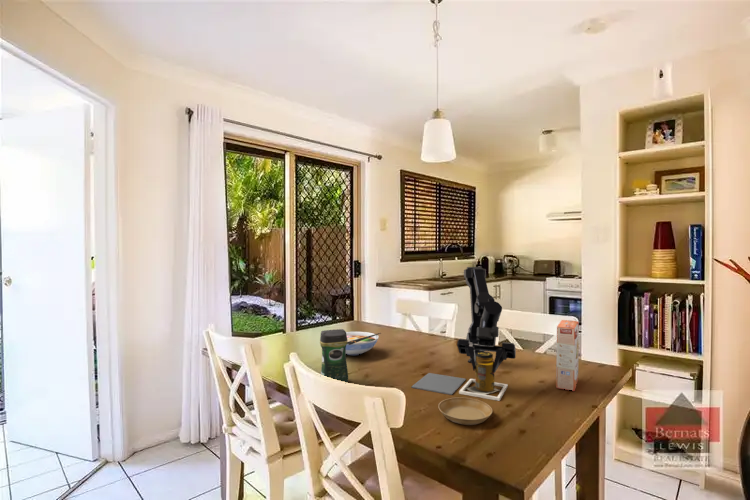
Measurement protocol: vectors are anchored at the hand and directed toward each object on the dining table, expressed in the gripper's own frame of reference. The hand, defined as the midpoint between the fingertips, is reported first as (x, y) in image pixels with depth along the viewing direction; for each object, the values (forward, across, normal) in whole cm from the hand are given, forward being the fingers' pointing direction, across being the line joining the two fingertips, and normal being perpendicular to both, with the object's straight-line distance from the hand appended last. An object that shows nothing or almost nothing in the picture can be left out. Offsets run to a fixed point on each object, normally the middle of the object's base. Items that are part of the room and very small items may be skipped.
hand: (483, 371), depth 126 cm
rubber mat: (+3, -15, +6) cm, 17 cm away
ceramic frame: (+4, 0, +6) cm, 7 cm away
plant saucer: (+20, -2, -9) cm, 22 cm away
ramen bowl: (-13, -60, +22) cm, 66 cm away
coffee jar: (+12, -50, -3) cm, 51 cm away
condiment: (+4, -1, +6) cm, 7 cm away
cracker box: (-8, +25, +18) cm, 32 cm away
